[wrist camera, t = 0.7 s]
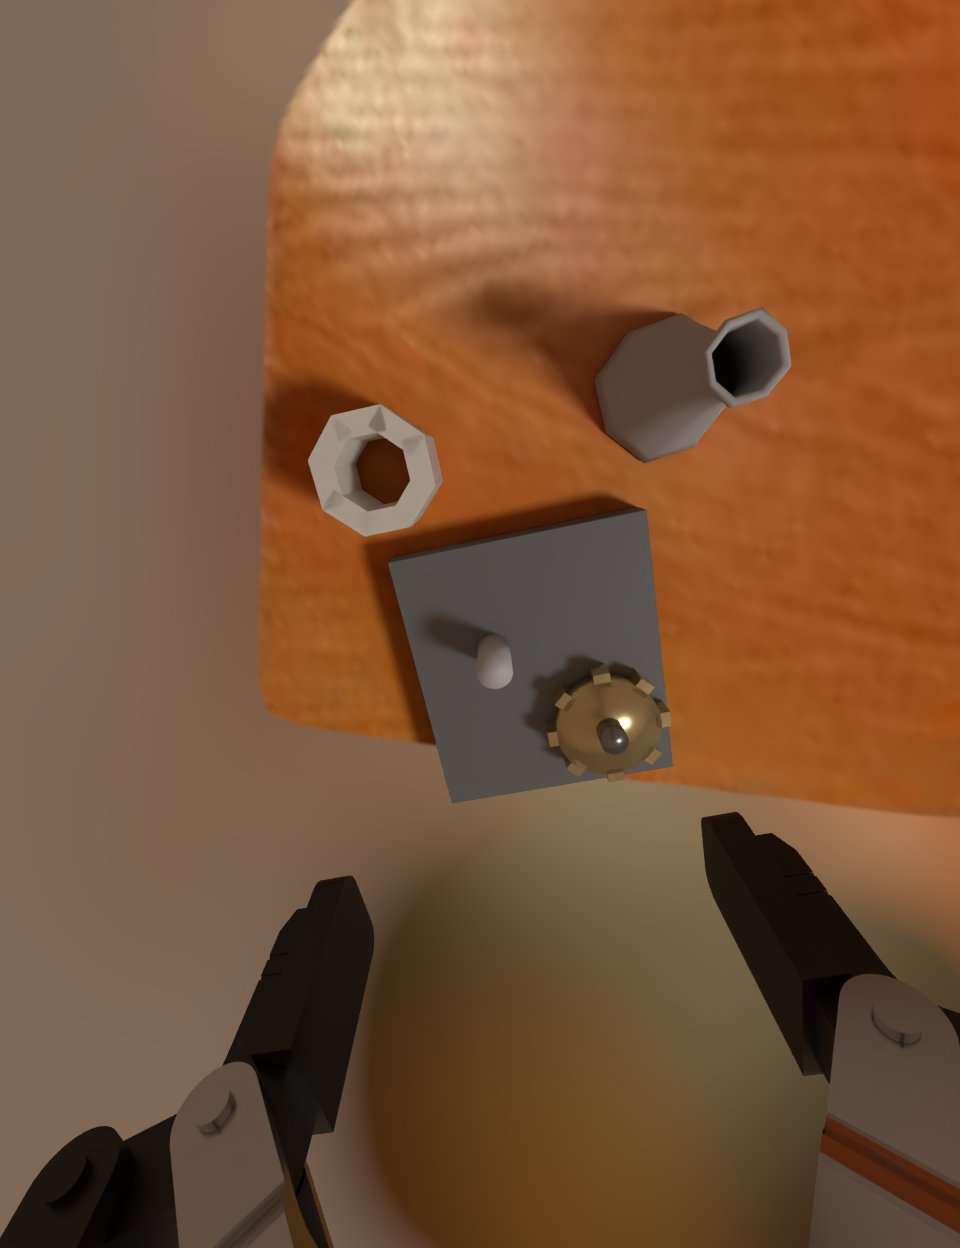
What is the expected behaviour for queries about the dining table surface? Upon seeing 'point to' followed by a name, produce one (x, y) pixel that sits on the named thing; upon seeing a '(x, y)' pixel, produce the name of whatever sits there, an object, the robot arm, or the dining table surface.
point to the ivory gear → (342, 481)
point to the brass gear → (607, 722)
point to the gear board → (526, 641)
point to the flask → (687, 378)
